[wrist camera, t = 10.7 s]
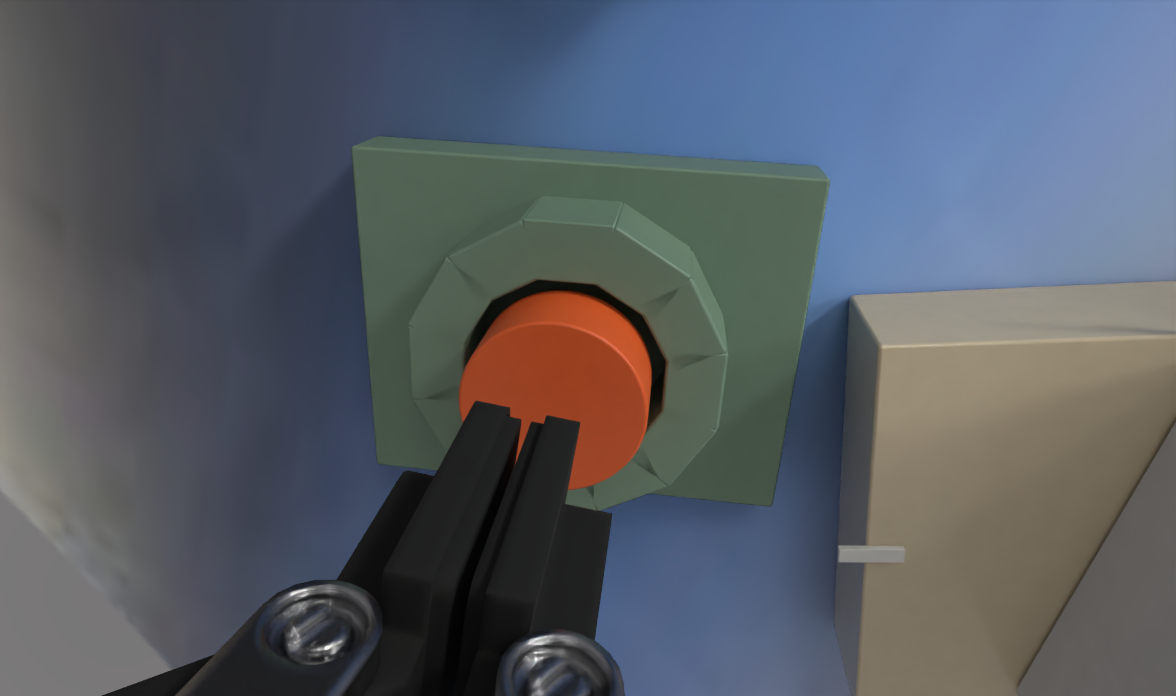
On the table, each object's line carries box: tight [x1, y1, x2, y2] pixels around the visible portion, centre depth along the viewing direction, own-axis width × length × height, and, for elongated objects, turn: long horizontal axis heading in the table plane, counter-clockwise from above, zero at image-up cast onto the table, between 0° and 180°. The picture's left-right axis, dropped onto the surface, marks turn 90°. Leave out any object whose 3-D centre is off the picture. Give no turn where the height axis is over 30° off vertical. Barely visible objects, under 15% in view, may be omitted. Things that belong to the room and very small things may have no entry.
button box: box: [351, 136, 830, 511], centre depth 17 cm, size 10×8×4 cm
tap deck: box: [834, 281, 1176, 696], centre depth 17 cm, size 13×13×3 cm
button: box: [458, 290, 652, 490], centre depth 15 cm, size 4×4×2 cm
